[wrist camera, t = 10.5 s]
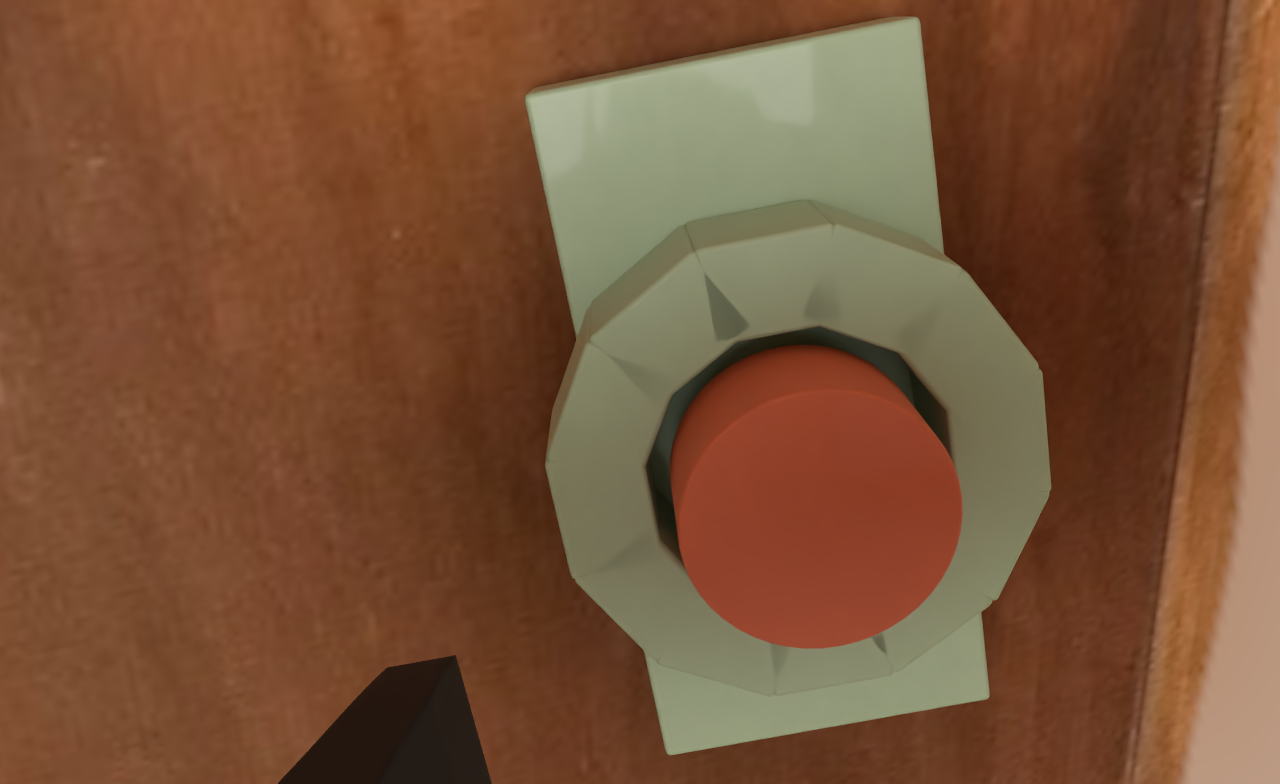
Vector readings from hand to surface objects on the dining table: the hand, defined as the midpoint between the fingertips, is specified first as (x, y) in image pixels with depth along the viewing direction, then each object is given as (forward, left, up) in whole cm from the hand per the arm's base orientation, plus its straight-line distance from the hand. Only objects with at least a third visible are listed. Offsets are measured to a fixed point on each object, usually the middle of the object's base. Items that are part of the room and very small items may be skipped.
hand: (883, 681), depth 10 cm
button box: (0, 0, -7) cm, 7 cm away
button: (0, 0, -5) cm, 5 cm away
